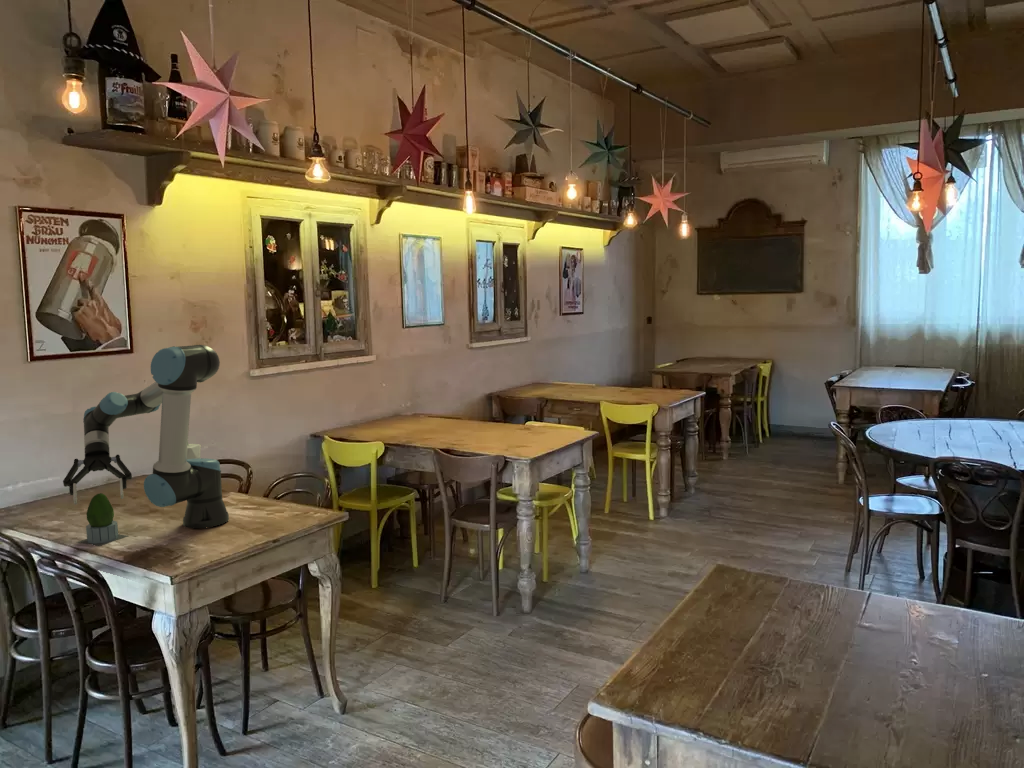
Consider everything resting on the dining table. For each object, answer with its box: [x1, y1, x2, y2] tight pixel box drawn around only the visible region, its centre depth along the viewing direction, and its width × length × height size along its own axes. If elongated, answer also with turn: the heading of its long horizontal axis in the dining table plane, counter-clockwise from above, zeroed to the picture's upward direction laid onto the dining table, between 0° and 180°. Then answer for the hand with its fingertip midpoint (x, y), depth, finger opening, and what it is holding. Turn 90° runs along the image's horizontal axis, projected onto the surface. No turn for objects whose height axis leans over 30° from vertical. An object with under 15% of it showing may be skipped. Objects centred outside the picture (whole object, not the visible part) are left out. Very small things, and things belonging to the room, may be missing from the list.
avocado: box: [86, 493, 115, 527], centre depth 246 cm, size 8×8×12 cm
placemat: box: [76, 533, 129, 547], centre depth 247 cm, size 11×11×1 cm
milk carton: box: [187, 443, 202, 459], centre depth 313 cm, size 9×9×20 cm
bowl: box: [85, 520, 119, 544], centre depth 247 cm, size 9×9×5 cm
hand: (98, 499), depth 247 cm, fingers open, 13 cm apart
